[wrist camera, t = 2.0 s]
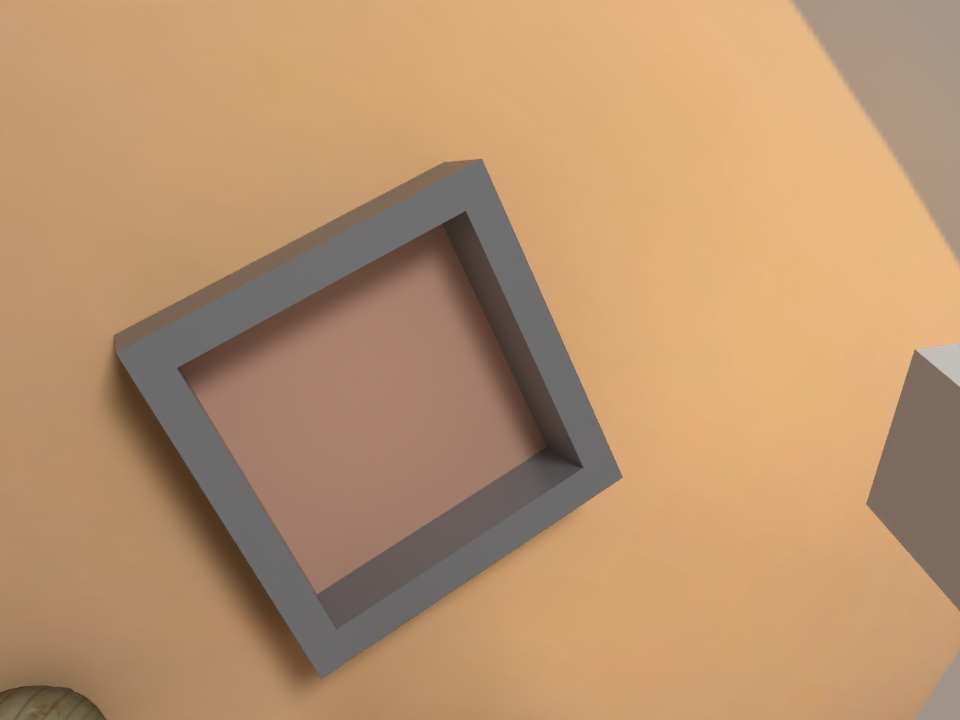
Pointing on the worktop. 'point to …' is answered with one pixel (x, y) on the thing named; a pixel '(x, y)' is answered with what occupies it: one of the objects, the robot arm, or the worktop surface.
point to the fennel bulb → (46, 704)
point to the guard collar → (376, 408)
